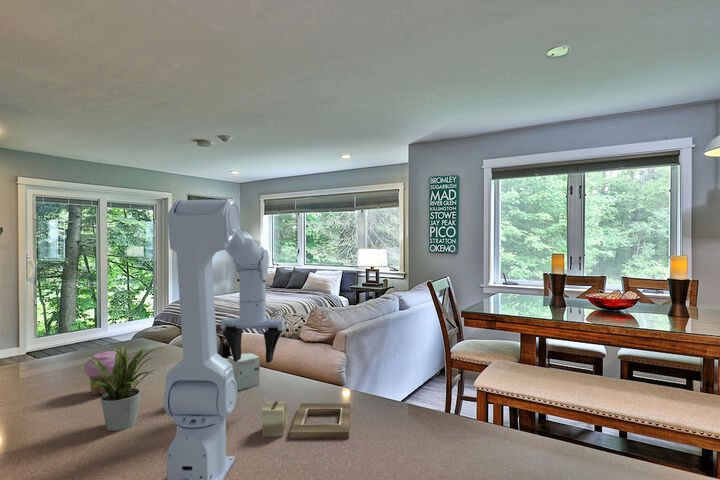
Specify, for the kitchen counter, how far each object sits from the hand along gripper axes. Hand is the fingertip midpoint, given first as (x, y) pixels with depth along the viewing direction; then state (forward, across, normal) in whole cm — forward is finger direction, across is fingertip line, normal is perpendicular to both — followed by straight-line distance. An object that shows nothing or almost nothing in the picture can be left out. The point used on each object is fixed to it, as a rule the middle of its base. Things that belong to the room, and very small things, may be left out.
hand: (253, 360), depth 90 cm
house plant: (+10, +21, +12) cm, 27 cm away
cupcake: (+10, +40, -3) cm, 41 cm away
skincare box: (+10, +8, -12) cm, 18 cm away
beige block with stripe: (+10, -9, +11) cm, 17 cm away
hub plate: (+10, -18, +6) cm, 21 cm away
